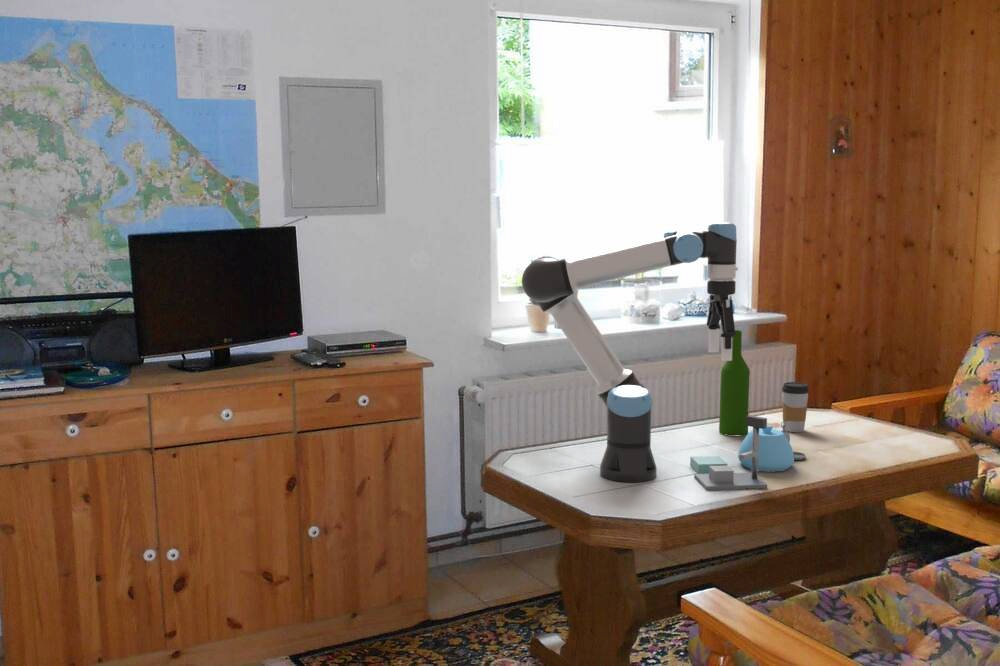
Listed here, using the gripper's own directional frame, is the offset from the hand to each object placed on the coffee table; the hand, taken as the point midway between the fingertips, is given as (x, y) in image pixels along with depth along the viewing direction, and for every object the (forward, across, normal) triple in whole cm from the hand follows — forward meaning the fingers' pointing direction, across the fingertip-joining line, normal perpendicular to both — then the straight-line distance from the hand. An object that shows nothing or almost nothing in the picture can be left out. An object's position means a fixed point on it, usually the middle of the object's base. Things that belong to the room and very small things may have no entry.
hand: (719, 356), depth 271 cm
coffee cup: (+31, +37, -34) cm, 59 cm away
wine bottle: (+31, +35, -14) cm, 49 cm away
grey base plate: (+31, -18, +1) cm, 35 cm away
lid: (+31, -5, +4) cm, 32 cm away
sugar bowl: (+31, -2, -13) cm, 34 cm away
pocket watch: (+31, +6, -23) cm, 39 cm away
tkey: (+29, -19, -3) cm, 35 cm away
